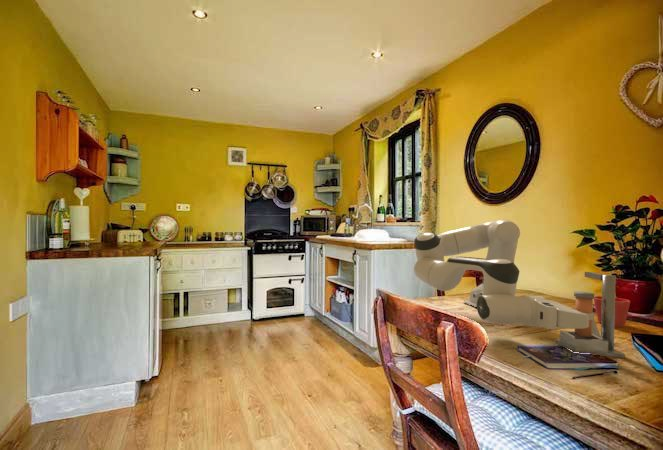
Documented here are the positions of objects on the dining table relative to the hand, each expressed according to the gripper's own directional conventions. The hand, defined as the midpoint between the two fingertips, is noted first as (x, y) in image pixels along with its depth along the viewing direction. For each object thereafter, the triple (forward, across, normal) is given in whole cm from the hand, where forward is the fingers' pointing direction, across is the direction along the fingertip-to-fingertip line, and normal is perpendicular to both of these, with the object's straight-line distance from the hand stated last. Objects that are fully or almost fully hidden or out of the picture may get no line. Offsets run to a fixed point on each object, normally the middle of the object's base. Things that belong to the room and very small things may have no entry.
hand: (587, 314), depth 100 cm
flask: (+9, -16, -11) cm, 22 cm away
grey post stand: (+1, -3, -10) cm, 11 cm away
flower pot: (+27, -34, -11) cm, 45 cm away
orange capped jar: (-1, 0, -6) cm, 6 cm away
